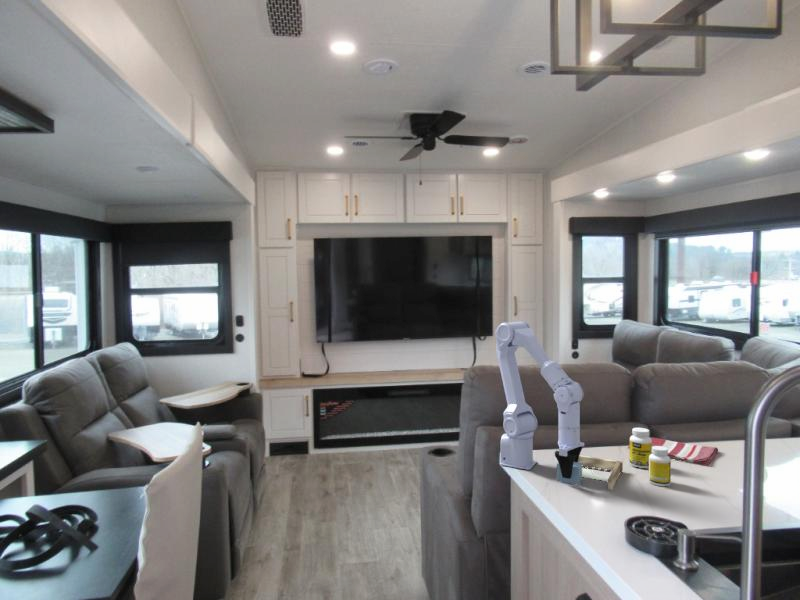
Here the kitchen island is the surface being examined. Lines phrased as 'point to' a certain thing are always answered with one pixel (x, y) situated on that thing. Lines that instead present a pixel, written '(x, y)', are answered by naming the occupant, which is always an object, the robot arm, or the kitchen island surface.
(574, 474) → the slate block
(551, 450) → the kitchen island surface
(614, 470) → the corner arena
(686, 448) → the dish towel
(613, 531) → the kitchen island surface
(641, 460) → the pill bottle
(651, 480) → the supplement bottle
